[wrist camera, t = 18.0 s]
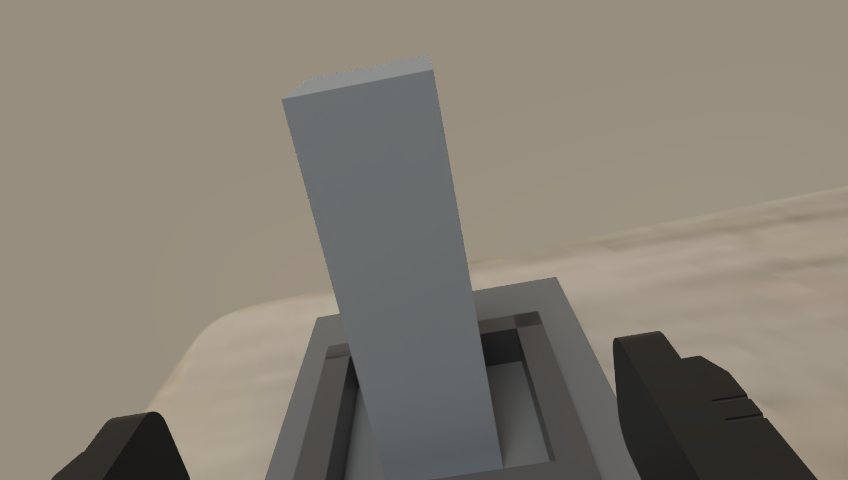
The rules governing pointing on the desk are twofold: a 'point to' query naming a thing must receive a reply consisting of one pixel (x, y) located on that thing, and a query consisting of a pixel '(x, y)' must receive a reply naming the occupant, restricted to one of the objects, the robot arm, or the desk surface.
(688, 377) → the robot arm
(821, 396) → the desk surface
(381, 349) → the plug
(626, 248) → the desk surface
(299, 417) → the power dock
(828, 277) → the desk surface
